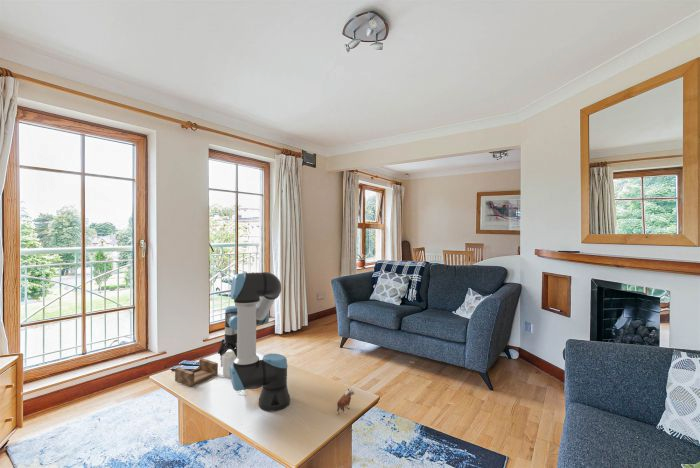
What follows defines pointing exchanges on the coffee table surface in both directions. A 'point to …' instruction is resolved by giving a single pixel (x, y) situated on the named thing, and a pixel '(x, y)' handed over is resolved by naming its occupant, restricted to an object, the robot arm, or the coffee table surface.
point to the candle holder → (228, 363)
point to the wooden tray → (197, 373)
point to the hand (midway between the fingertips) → (231, 368)
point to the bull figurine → (345, 400)
